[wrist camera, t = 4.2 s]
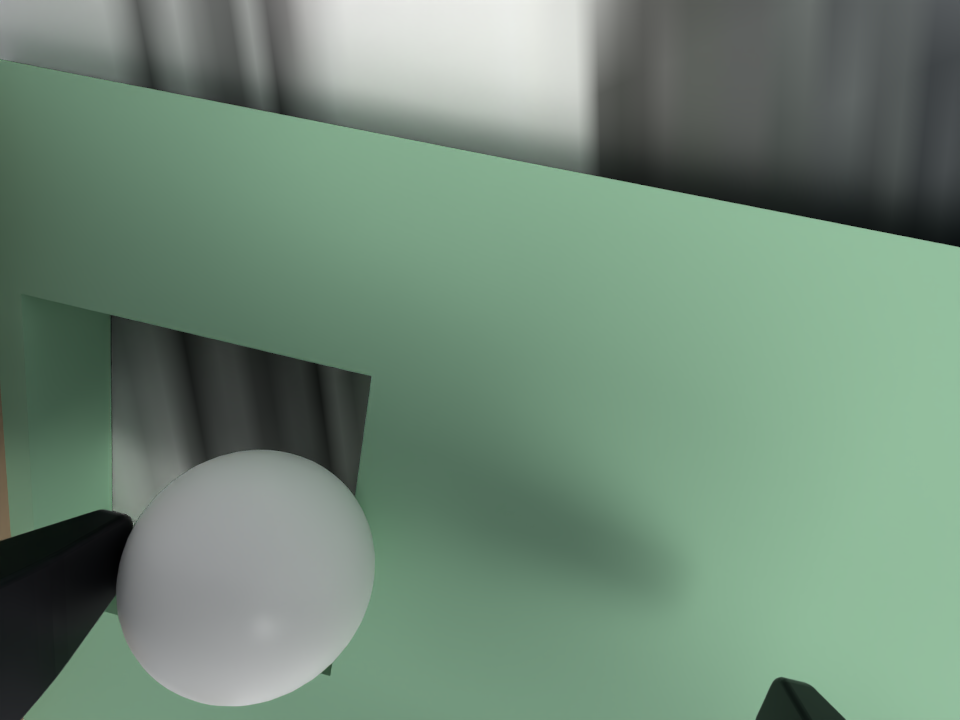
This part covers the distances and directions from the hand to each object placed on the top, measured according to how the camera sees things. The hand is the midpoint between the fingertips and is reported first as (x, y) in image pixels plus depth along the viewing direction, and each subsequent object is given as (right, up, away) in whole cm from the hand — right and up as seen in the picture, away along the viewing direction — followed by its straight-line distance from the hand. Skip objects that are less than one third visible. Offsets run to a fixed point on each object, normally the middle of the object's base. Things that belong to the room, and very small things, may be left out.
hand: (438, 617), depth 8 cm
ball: (-3, 0, +1) cm, 3 cm away
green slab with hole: (+2, 0, +4) cm, 4 cm away
